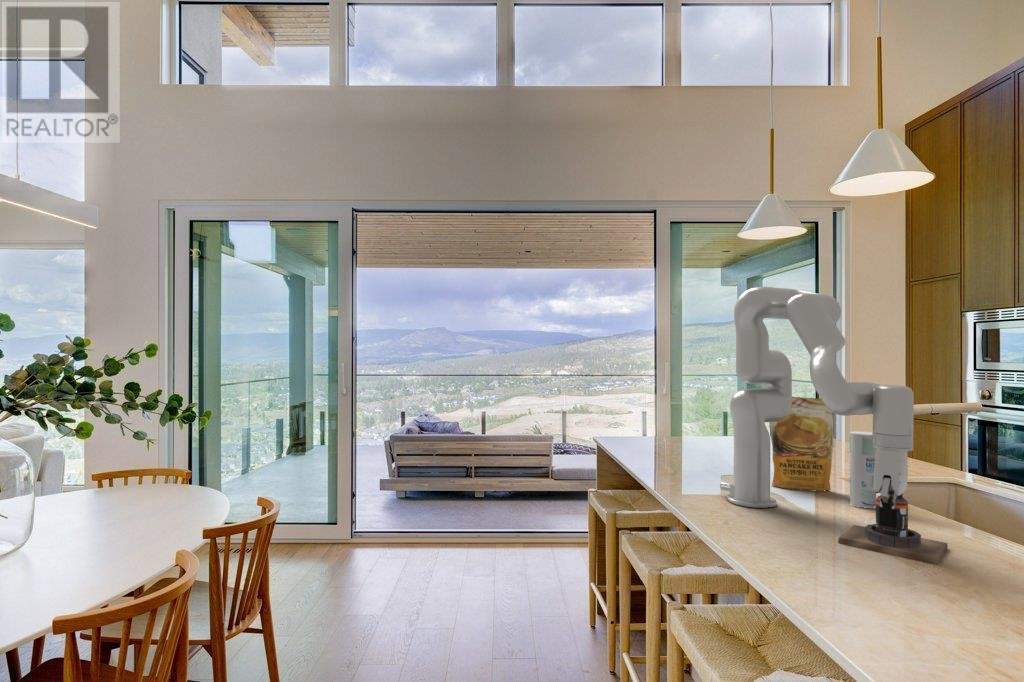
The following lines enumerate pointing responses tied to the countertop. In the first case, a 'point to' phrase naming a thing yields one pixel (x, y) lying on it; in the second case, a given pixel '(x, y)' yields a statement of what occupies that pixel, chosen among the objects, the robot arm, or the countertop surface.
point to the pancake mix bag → (803, 446)
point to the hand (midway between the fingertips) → (891, 522)
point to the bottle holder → (895, 543)
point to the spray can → (862, 469)
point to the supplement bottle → (901, 518)
